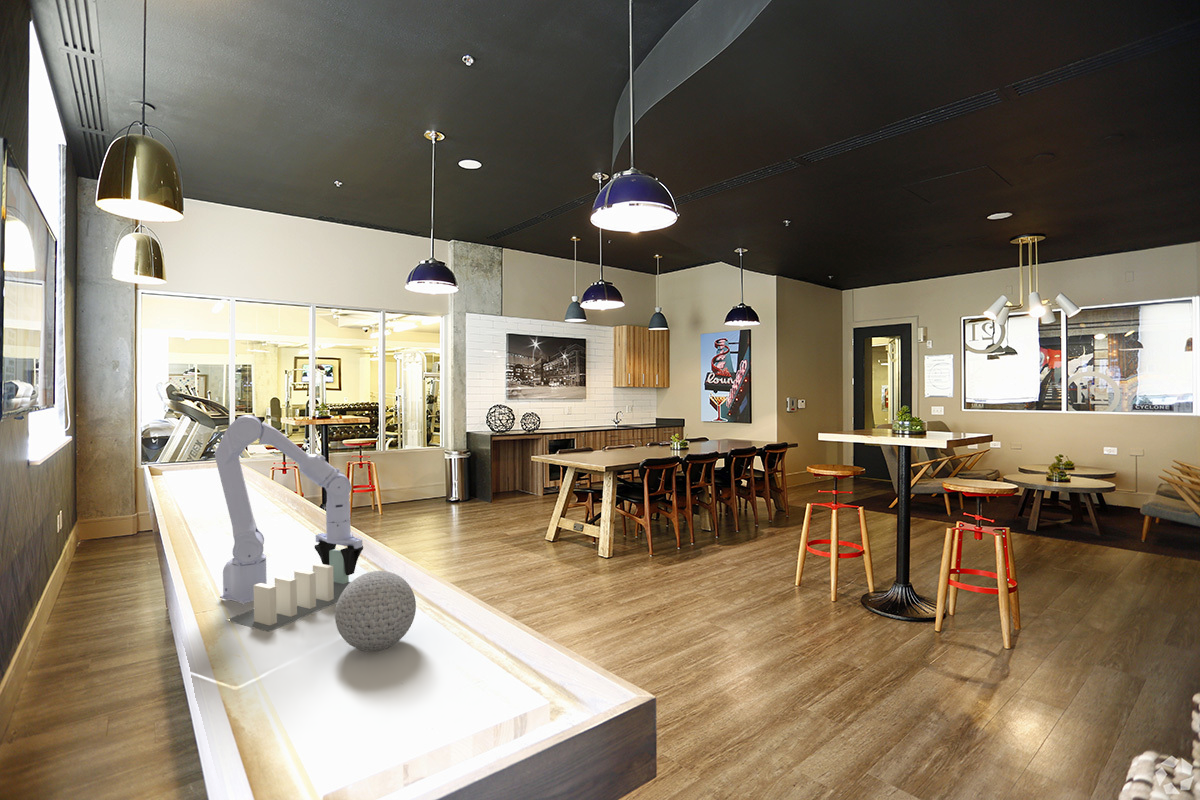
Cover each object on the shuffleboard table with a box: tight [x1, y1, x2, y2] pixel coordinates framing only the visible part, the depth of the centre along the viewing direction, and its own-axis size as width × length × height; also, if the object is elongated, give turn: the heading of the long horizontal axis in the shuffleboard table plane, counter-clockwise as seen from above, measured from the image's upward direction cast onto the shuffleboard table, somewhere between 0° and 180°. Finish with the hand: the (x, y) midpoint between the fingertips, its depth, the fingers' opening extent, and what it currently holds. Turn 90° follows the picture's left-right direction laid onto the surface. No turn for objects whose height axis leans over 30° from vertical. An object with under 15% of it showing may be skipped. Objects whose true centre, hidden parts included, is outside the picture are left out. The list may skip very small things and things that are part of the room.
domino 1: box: [253, 583, 277, 625], centre depth 128 cm, size 2×5×8 cm, turn 66°
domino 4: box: [312, 562, 334, 601], centre depth 142 cm, size 2×5×8 cm, turn 66°
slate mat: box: [228, 581, 352, 633], centre depth 140 cm, size 14×29×1 cm, turn 156°
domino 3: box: [293, 568, 316, 609], centre depth 137 cm, size 2×5×8 cm, turn 66°
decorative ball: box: [334, 570, 417, 652], centre depth 118 cm, size 15×15×15 cm
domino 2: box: [274, 575, 297, 617], centre depth 133 cm, size 2×5×8 cm, turn 66°
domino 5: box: [329, 548, 350, 584], centre depth 153 cm, size 2×5×8 cm, turn 66°
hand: (339, 572), depth 154 cm, fingers open, 7 cm apart
